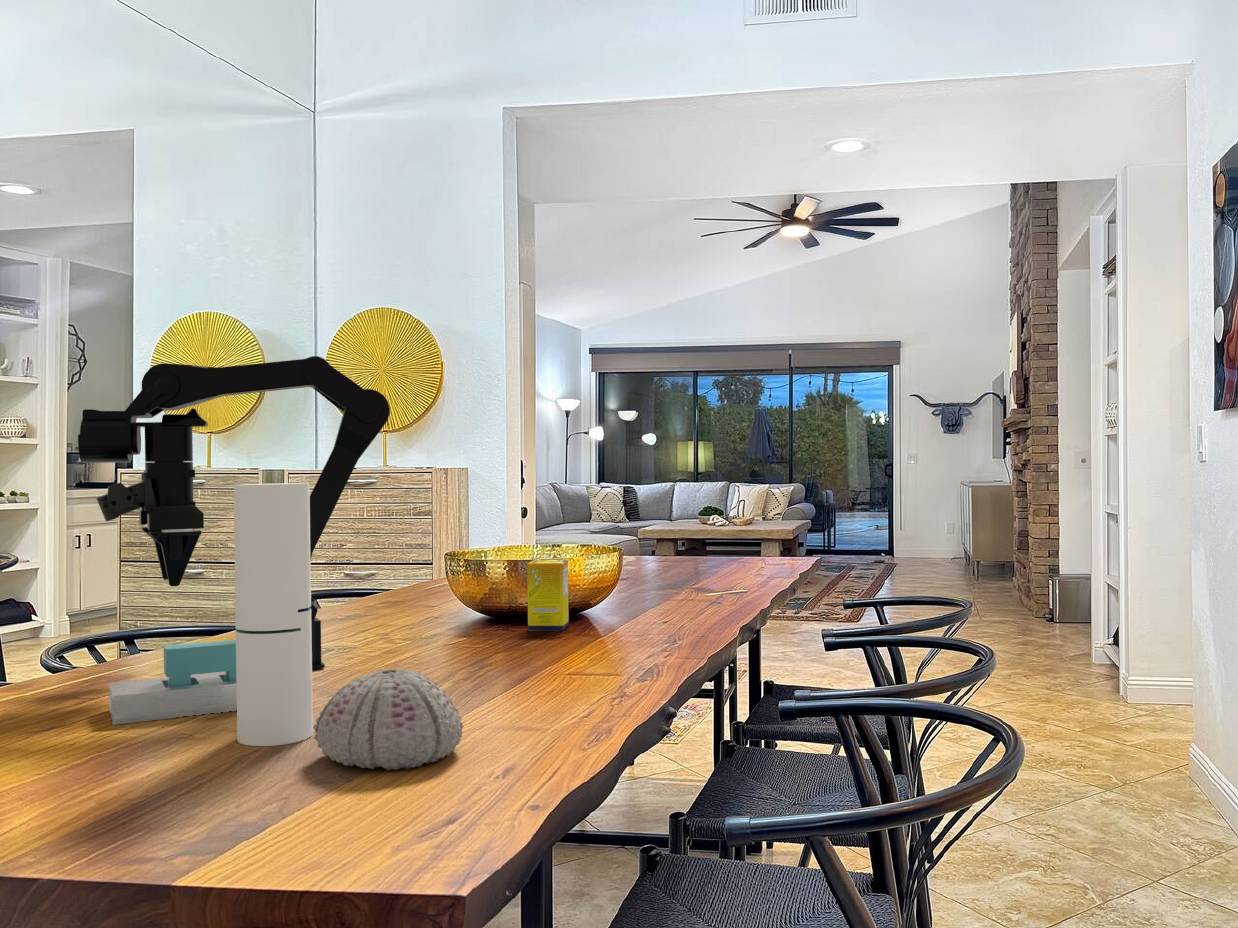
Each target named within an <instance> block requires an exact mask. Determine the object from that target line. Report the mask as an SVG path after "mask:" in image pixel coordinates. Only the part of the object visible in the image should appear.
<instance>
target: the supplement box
mask: <svg viewBox="0 0 1238 928" xmlns="http://www.w3.org/2000/svg"><path fill="white" fill-rule="evenodd" d="M568 562H569V561H568V560H567V559H534V560H531V561H530V562H528V563H526V573H527V574H526V579H527V582H526V585H527V586H526V587H527V627H528V628H527V630H528V631H529V632H530V631H531V632H533V631H534V632H536V631H544V632H546V631H550V632H553V631H564V630H565V629H566V628H567V626H569V625H570V624H569V619H570V617H569V616H570V615H569V575H568V574H569V573H568V572H569V570H568V568H569V566H568V565H569V564H568Z"/></svg>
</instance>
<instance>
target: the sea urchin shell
mask: <svg viewBox="0 0 1238 928" xmlns="http://www.w3.org/2000/svg"><path fill="white" fill-rule="evenodd" d="M315 723H316V724H315V725H313V730H314V731H315V734H314V737H313V739H314V740H315V741H317V745H316V747H318V748H320V749H321V750H322V755H324V756H329V759H330V760H331V761H333V762H334V761H336V763H338V764H339V763H340V764H343V766H350V767H353V766H357V767H358V768H359V767H360V768H361V769H367V768H368V769H371V770H375V768H379V767H380V768H383V769H385V770H387V771H390V770H400V769H401V768H402V769H412V768H415V767H417V768H420V767H421V766H422V765H423V764H430V763H434V762H438V761H439V760H440V759H445V756H446V757H447V756H450V755H451V753H452V752H455V751H456V747H457V746H458V745H459V744H460V742H461V738H462V737H463V728H464V727H465V726H464V725H463V724H464V723H463V722H462V716H460V715H459V708H457V707H455V706H454V704H453V700H452V698H450V697H448V696H447V694H446V690H444V689H443V690H442V689H441V688H440V687H439V685H438V683H436V682H435V683H434V682H433V681H432V679H430V678H429V677H427V676H425V674H422V673H421V672H418V671H415V670H409V669H406V668H403V669H396V668H386V669H385V668H384V669H382V668H381V669H377V670H375V671H372V672H370V673H367V674H364V675H361V676H358V677H357V678H354V679H353V680H351V681H349V682H348V683H346V684H344V685H343V686H342V687H341V688H340V689H338V690H337V691H336V692H335V694H333V695H332V696H331V698H330V699H329V700H328V701H327V703H326V704H325V705H324V706H323V708H322V710H321V711H320V712H319V716H318V717H316V718H315Z"/></svg>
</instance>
